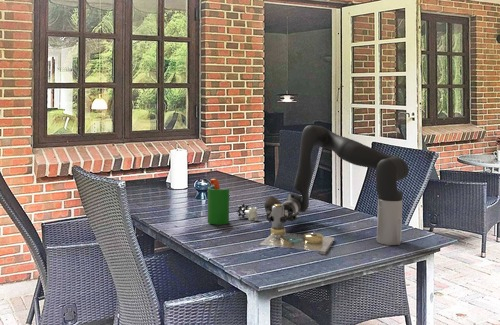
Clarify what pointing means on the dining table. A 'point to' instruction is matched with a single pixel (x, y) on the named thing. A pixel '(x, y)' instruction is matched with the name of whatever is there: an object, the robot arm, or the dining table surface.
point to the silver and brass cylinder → (277, 220)
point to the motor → (218, 204)
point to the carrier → (300, 241)
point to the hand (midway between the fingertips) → (276, 220)
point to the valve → (248, 212)
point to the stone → (271, 203)
